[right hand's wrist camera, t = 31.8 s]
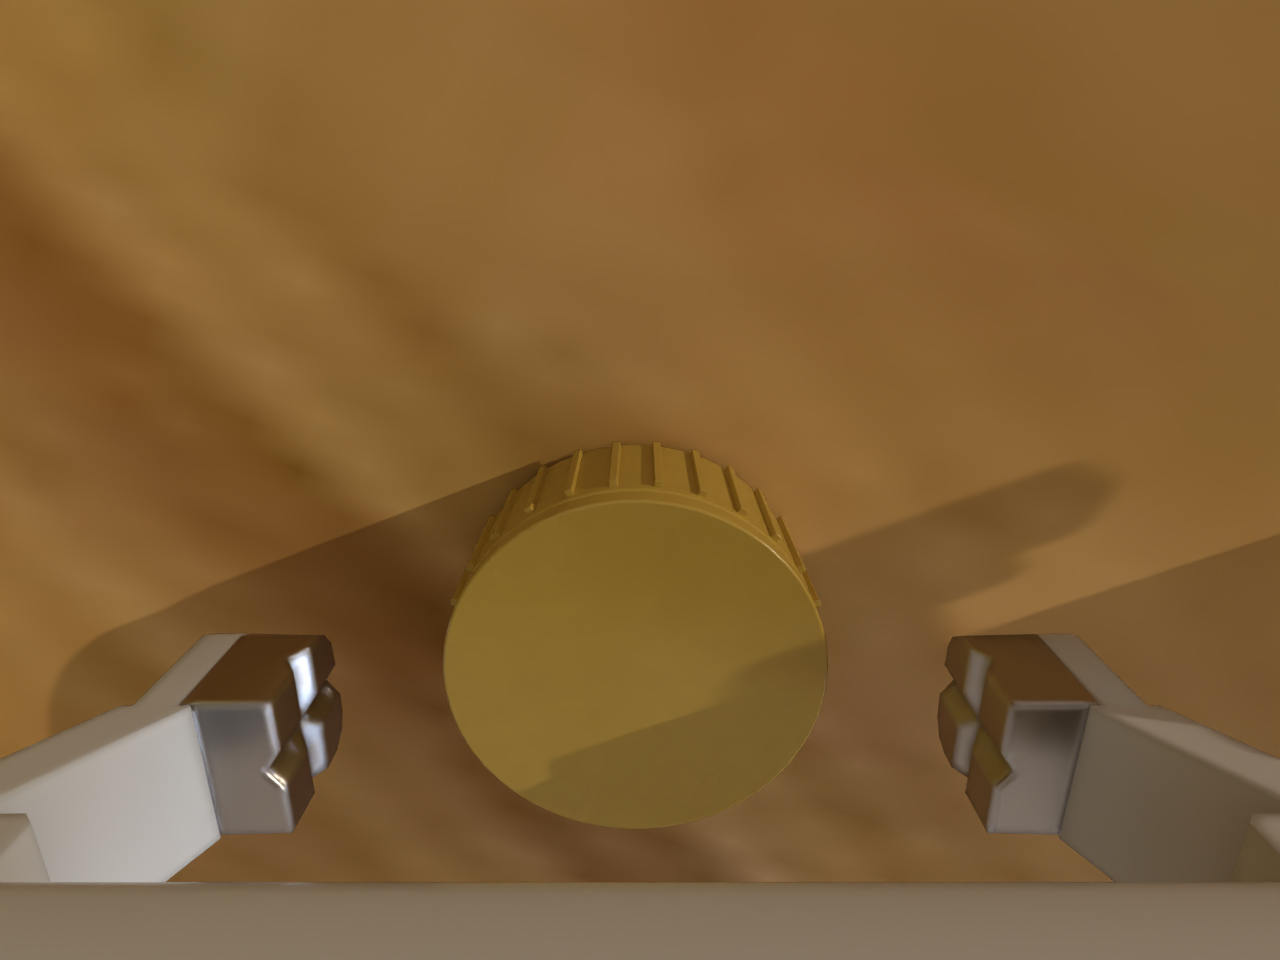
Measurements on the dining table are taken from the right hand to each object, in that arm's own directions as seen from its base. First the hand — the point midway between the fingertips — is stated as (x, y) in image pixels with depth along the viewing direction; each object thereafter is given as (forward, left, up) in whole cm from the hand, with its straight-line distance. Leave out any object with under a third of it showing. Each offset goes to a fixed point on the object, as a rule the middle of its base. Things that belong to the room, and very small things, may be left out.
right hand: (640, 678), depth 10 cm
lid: (0, 0, 0) cm, 0 cm away
